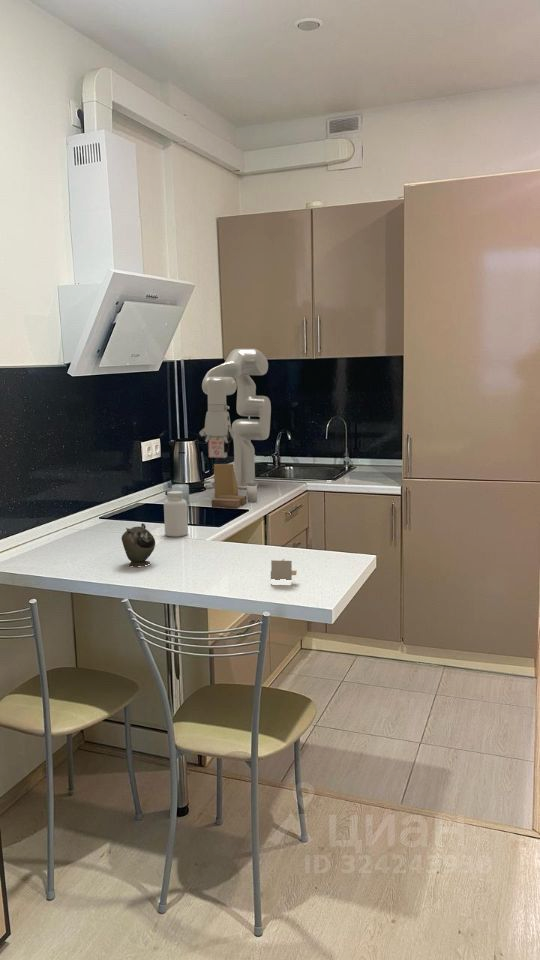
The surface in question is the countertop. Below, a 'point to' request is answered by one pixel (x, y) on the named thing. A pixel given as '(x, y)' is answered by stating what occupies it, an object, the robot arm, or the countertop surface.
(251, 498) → the salt shaker
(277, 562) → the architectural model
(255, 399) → the robot arm
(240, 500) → the podium
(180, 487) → the mug
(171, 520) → the pill bottle
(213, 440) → the tea bag
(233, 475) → the sandwich container
